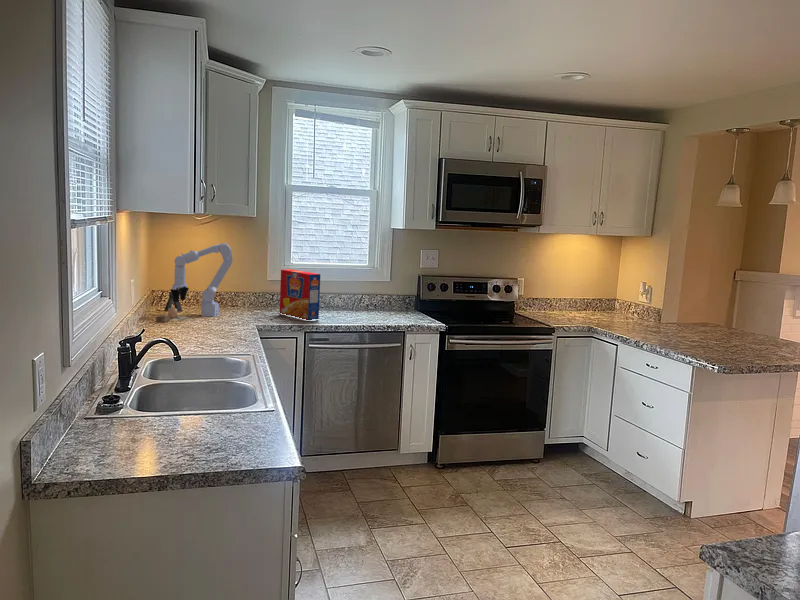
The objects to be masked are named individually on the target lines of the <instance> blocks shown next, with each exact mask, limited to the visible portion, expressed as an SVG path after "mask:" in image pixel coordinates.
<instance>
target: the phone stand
mask: <svg viewBox="0 0 800 600" xmlns="http://www.w3.org/2000/svg"><path fill="white" fill-rule="evenodd" d="M172 306H174V308H176V309H177V313H182V312H183V308H182V305H181V302H180V301H179V302H175V301H174V297H173V294H172V292H171V291H170V292H169V293H168V299H167V302H166V305H165V307H164V311H165V312H168V309H169V308H172ZM181 311H182V312H181Z"/></svg>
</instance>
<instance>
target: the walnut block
mask: <svg viewBox="0 0 800 600" xmlns="http://www.w3.org/2000/svg"><path fill="white" fill-rule="evenodd" d="M168 322H170V316H166V315H161V314H160V315H157V316H156V317H155V323H168Z"/></svg>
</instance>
